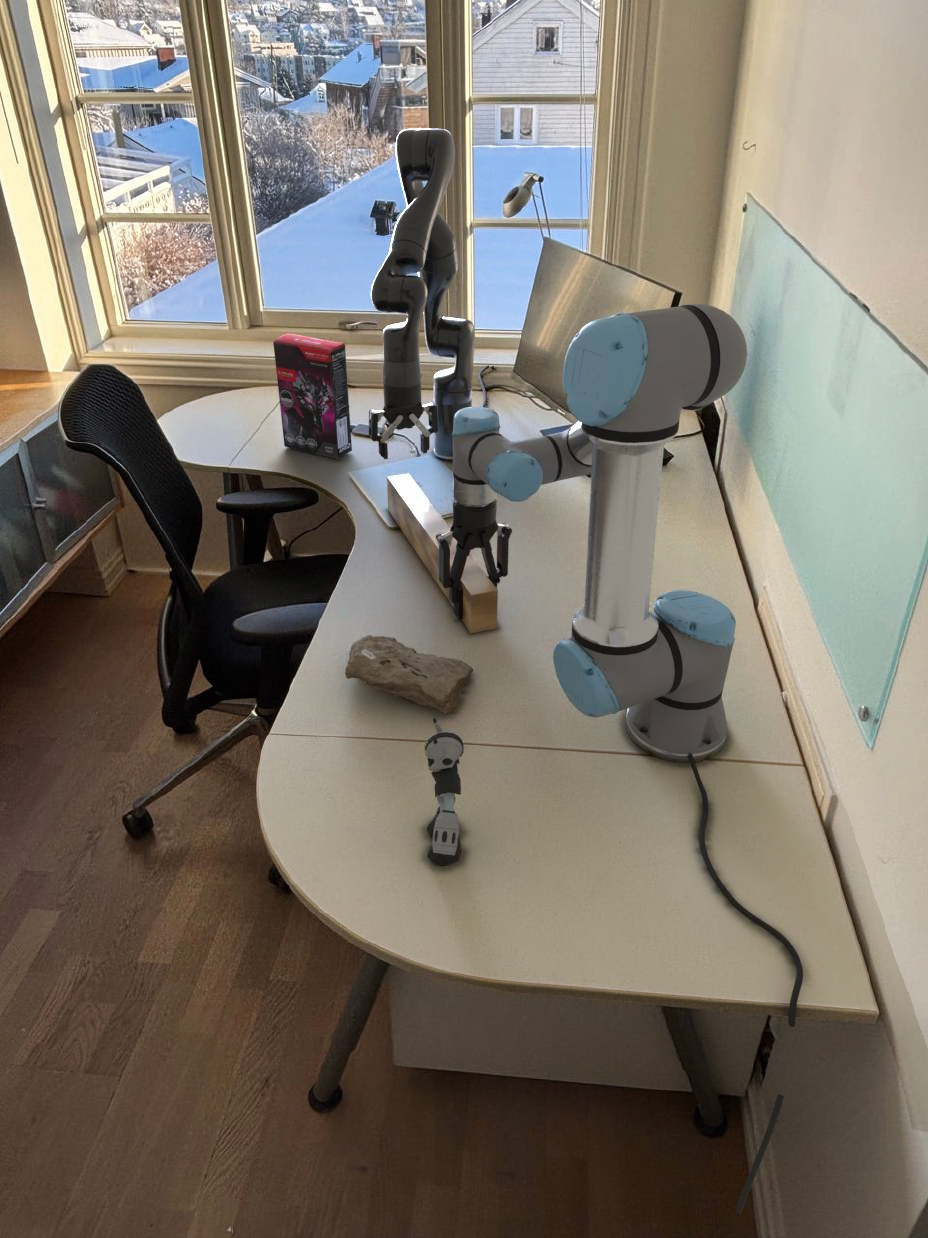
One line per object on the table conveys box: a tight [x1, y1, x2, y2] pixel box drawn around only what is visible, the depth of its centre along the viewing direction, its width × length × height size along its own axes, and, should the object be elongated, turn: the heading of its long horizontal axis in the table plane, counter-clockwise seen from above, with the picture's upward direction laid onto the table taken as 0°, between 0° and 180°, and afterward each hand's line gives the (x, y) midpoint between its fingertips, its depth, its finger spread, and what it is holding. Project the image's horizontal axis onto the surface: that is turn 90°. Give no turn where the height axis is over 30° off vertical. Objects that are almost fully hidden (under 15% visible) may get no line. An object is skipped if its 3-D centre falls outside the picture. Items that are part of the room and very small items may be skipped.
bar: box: [386, 473, 499, 634], centre depth 183 cm, size 51×5×8 cm, turn 21°
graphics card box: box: [272, 332, 353, 460], centre depth 223 cm, size 17×7×27 cm, turn 62°
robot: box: [423, 717, 465, 867], centre depth 118 cm, size 20×5×20 cm, turn 3°
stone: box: [344, 634, 474, 714], centre depth 150 cm, size 21×15×6 cm
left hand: (404, 454), depth 192 cm, fingers open, 8 cm apart
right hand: (472, 612), depth 169 cm, fingers closed on bar, 5 cm apart
